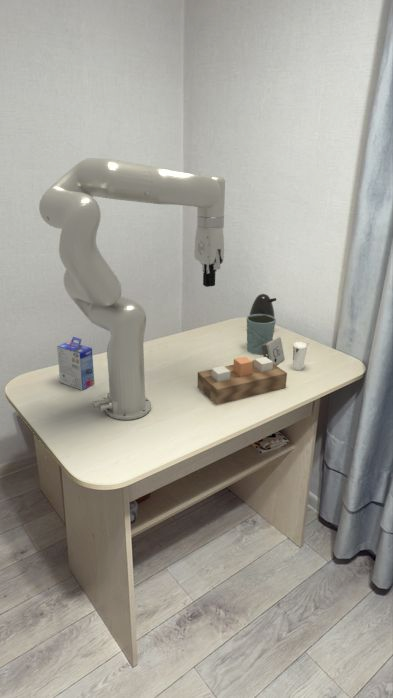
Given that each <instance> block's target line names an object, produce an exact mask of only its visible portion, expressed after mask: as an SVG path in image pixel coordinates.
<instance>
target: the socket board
mask: <svg viewBox="0 0 393 698" xmlns="http://www.w3.org/2000/svg"><path fill="white" fill-rule="evenodd" d="M251 361H252V375H248V376H243V377H239V376H238V375H236V374H235V373H234V372H233V366H234V364H231V365H225V366H224V365H223V366H224V367H225V368H227V369H228V370H229V371H230V380H226V381H221V382H217V381H215V380H214V379H213V378H212V377H211V371H212V368H211V369H207V370H206V369H205V370H202V371H198V372H197V388H198V389H199V390H200V392H202V393H203V394H204V395H205V396H206V397H208V399H209V400H210V401H212V402H213V403H214V404H215V405H216V406H219V405H221V404H222V405H223V404H226V403H230V402H235V401H238V400H242V399H247V398H250V397H254V396H258V395H262V394H266V393H271V392H274V391H278V390H282V389H286V387H287V380H288V379H287V378H288V372H286V371H285V370H283V369H282V368H281V367H278V366H277V365H274V364H273V369H272V370H270V371H265V372H260V371H259V370H257V369H256V368H254V362H255V359H253V360H251Z"/></svg>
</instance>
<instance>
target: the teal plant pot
mask: <svg viewBox="0 0 393 698" xmlns="http://www.w3.org/2000/svg"><path fill="white" fill-rule="evenodd" d="M276 321H277V319H276V317H275V318H274V317H273V316H270V315H265V314H253V315H250V314H249V315H248V316H247V317H246V327H247V329H246V349H247V351H248V352H249V353H250V354H253V355H261V356H262V355H263V352H262V345H263V344H264V343H266V342H268V341H270V340H271V339H274V332H275V325H276V323H277V322H276Z"/></svg>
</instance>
